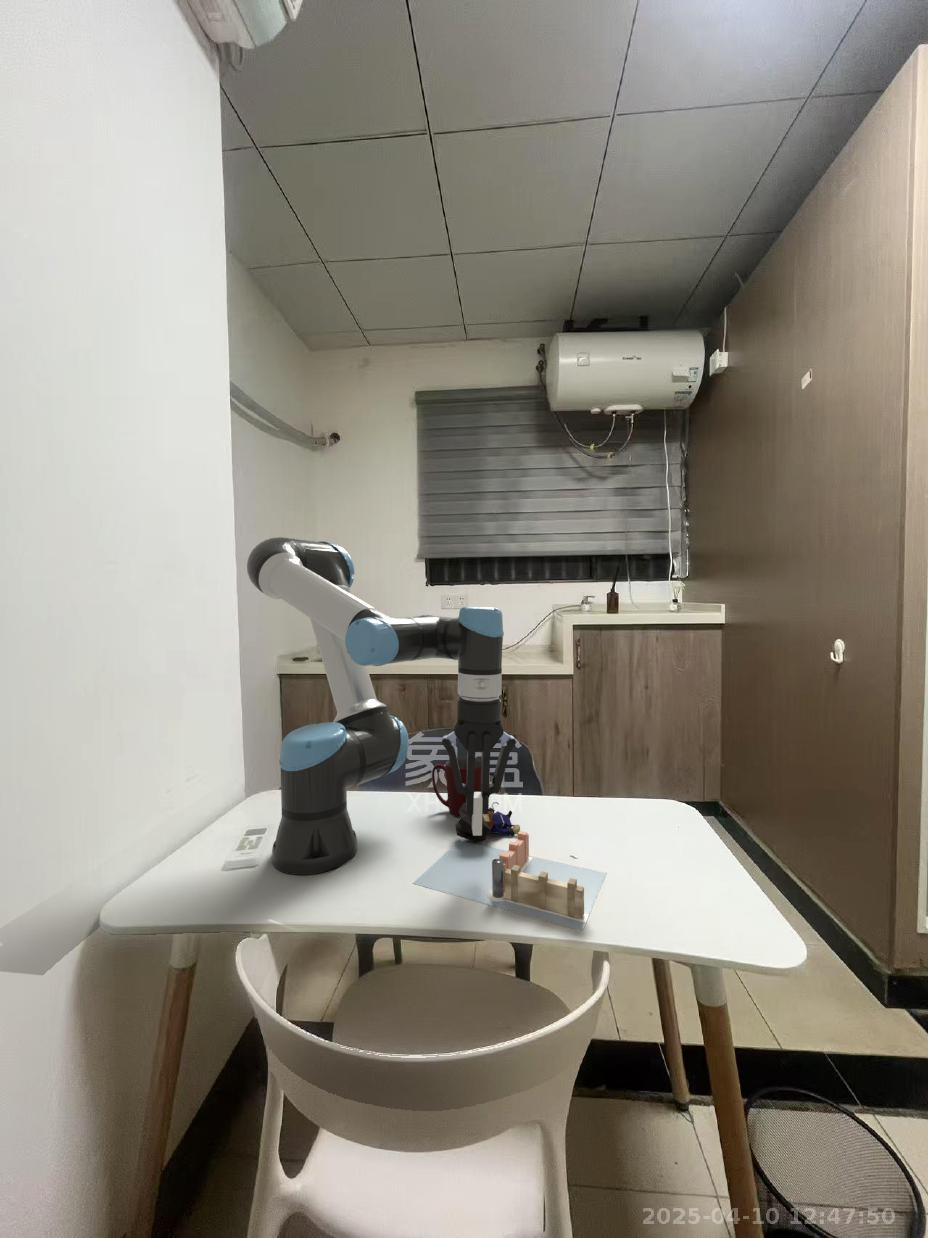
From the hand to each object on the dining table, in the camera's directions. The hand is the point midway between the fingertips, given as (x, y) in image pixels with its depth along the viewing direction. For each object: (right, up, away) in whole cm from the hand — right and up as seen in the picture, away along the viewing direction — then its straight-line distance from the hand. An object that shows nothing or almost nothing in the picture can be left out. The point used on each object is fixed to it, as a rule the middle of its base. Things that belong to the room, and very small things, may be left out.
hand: (476, 831), depth 87 cm
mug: (-3, -6, +25) cm, 26 cm away
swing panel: (+6, -6, -1) cm, 9 cm away
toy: (+3, -6, +13) cm, 15 cm away
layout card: (+6, -7, -3) cm, 9 cm away
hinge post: (+3, -7, -8) cm, 11 cm away
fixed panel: (+10, -6, -11) cm, 16 cm away
